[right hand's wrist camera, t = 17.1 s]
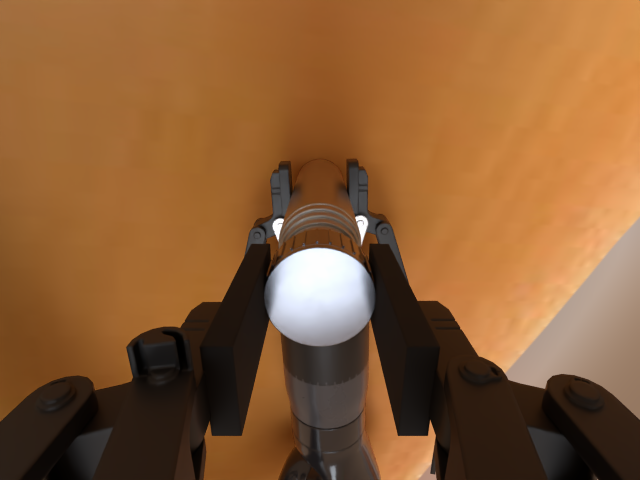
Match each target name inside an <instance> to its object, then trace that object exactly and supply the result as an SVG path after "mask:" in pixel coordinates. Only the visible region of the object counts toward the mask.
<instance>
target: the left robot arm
mask: <svg viewBox="0 0 640 480" xmlns="http://www.w3.org/2000/svg"><path fill="white" fill-rule="evenodd" d="M270 183H271V193H272V205H273V214H272V215H271V216H269V217H266V218H259V219H257V220H256V222H255V224H254V227H253V228H252V229H251V231H250V233H249V237H248V242H247V247H246V252H245V255H246V253H247V251H248V249H249V247H250V245H251V244H266V241H267V238H269V237H272V236H275V235H276V237H277V240H278V242H279V233H280V230H281V226H282V223H283V220H284V217H285V214H286V211H287V208H288V205H289V202H290V199H291V195H292V192H293V189H292V174H291V162H290V161H281V162H280V163H279V170H274V172H273V173H272V176H271V179H270ZM347 193H348V196H349V199H350V202H351V205H352V208H353V211H354V214H355V218H356V221H357V224H358V227H359V230H360V234H361V247H362V243H363V240H364V236H365V233H366V232H369V233H372V234H375V235H376V237H377V241H378V244H389V246H390V248H391V250H392V251H393V253H394V255H395V257H396V259H397V261H398V263H399V265H400V267H401V269H402V271H403V273H404V275H405V277H406V279H407V276H406V272H405V269H404V266H403V262H402V259H401V256H400V252H399V249H398V246H397V242H396V239H395V236H394V232H393V229H392V227H391V225H390V223H389V222H388V220H387V218H386V217H385V216H384V215H383V214H375V213H372V212H370V211H368V176H367V173H366V171H365V169H364V167H359V166H358V161H357V159H347ZM244 257H245V256H244ZM407 281H408V279H407ZM408 283H409V282H408ZM281 341H282V352H283V364H284V374H285V384H286V389H287V393H288V397H289V401H290V408H291V420H292V432H293V437H294V442H295V445H296V446H295V448H294V449H293V450H292V451H291V453H290V454H289V456H288V457H287V460H286V462H285V464H284V466H283V469H282V471H281V473H280V476H279V479H278V480H381V476H380V472H379V468H378V465H377V462H376V459H375V456H374V453H373V450H372V447H371V443H370V440H369V437H368V435H367V433H366V430H365V399H366V392H367V387H368V370H369V322H368V323H367V325H366V326H365V327H364V328H363V329H362V330H361V331H360V332H359V333H358V334H357V335H355V336H354V337H352V338H351V339H349V340H347V341H345V342H342V343H339V344H336V345H331V346H323V347H321V346H308V345H304V344H301V343H298V342H295V341H293V340H291V339H289V338H288V337H286V336H284V335H283V334H282V333H281Z"/></svg>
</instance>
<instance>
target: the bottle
mask: <svg viewBox="0 0 640 480" xmlns="http://www.w3.org/2000/svg"><path fill="white" fill-rule="evenodd" d="M316 229H325V230H329V229H331V231H335V232H338V233H343V235H345V236H347V237H348V238H350V239H351V238H352V239H353V241H354V242H355V243H356V244H357V245H358V246H359V247H360V246H361V234H360V230H359V227H358V224H357V221H356V218H355V214H354V211H353V208H352V205H351V202H350V199H349V196H348V193H347V190H346V186H345V183H344V180H343V177H342V174H341V172H340V170H339V168H338V167H337V166H336V165H335V164H334V163H332V162H330V161H328V160H324V159H316V160H312V161H310V162H308V163H306V164H305V165H304V166H303V167H302V168H301V170H300V172H299V174H298V177H297V180H296V183H295V186H294V189H293V192H292V195H291V199H290V202H289V205H288V208H287V211H286V214H285V217H284V220H283V223H282V226H281V230H280V233H279V243H278V249H279V248H280V247H281V246H282V244H283V242H284V241H285V242H286V241H287V240H288V239H290V238H291V237H292V236H293V235H297V234H299V233H302V232H304V231H305V230H306V231H309V230H316Z"/></svg>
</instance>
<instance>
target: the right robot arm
mask: <svg viewBox="0 0 640 480" xmlns="http://www.w3.org/2000/svg"><path fill="white" fill-rule="evenodd" d="M270 262H271V254H270V244H251V245H250V247H249V249H248V251H247V253H246V255H245V257H244V259H243V261H242V263H241V265H240V267H239V269H238V271H237V273H236V275H235V277H234V279H233V281H232V283H231V285H230V287H229V289H228V291H227V293H226V295H225V297H224V299H223V301H222V302H202V303H201V304H200V305H198V306H197V307H195V308H194V309H193V310H191V312H190V313H189V315H188V316H187V318H186V320H185V322H184V323H183V324H182V326H181V328H178V327H161V328H156V329H152V330H149V331H147V332H144V333H142V334H140V335H139V336H137V337H136V338H134V339H133V340H132V341H131V342H130V343H129V344H128V346H127V347H126V348H127V353H128V357H129V361H130V366H131V370H132V375H133V379H132V381H131V382H129V383H125V384H122V385H118V386H113V387H109V388H104V389H100V390H95V389H94V385H93V382H92V381H91V380H90V379H89V378H87V377H82V376H70V377H64V378H60V379H57V380H54V381H51V382H49V383H48V384H46V385H44V386H42V387H40V388H38V389H37V390H35V391H34V392H33V393H31V394H30V395H29V396H27V397H26V398H25V399H24V400H23V401H22V402H21V403H20V404H19V405H18V406H17V407H16V408H15V409H14V410H12V411H11V412H10V413H9V414H8V415H7V416H6V417H5V418H4V419H3V420H2V421H1V422H0V480H203V478H204V469H205V459H206V446H205V439H204V435H205V433H206V430H207V427H208V424H209V421H210V425H211V432H212V436H242V432H243V428H244V424H245V420H246V415H247V411H248V407H249V403H250V398H251V394H252V390H253V386H254V382H255V377H256V373H257V369H258V365H259V361H260V356H261V352H262V348H263V344H264V340H265V335H266V331H267V327H268V323H269V317H268V315H267V313H266V310H265V302H264V287H265V283H266V280H267V277H266V274H267V271H268V268H269V265H270ZM369 264H370V267H371V270H372V276H373V279H374V284H375V288H376V298H375V309H374V312H373V315H372V317H371V324H372V328H373V332H374V336H375V340H376V345H377V349H378V353H379V357H380V362H381V366H382V370H383V374H384V378H385V383H386V387H387V391H388V395H389V399H390V404H391V408H392V412H393V416H394V421H395V425H396V429H397V433H398V436H428V431H429V424H430V420H431V423H432V426H433V429H434V431H435V434H436V439H435V445H434V452H433V459H432V465H431V474H435V472H436V478H437V480H597V479H598V480H640V420H639V419H638V418H637V417H636V416H635V415H634V414H633V413H632V412H631V411H630V410H629V409H627V408H626V407H625V406H624V405H623V404H622V403H621V402H620V401H619V400H618V399H617V398H616V397H615V396H614V395H612V394H611V393H610V392H608V391H607V390H606V389H604V388H603V387H602V386H600V385H598V384H596V383H594V382H592V381H590V380H588V379H585V378H581V377H578V376H575V375H566V374H560V375H555V376H552V377H551V378H550V379H549V380H548V381H547V384H546V388H545V389H543V388H538V387H534V386H529V385H524V384H520V383H517V382H513V381H510V380H508V378H507V376H506V375H505V373H504V372H503V370H502V369H501V368H499V367H498V366H497V365H496V364H494V363H493V362H491V361H489V360H487V359H485V358H482V357H479V356H478V355H477V353H476V352H475V350H474V348H473V347H472V345H471V344H470V342H469V341H468V339H467V337H466V336H465V334H464V333H463V331H462V330H460V326H459V325H458V323H457V322H456V321H455V319H454V317H453V315H452V314H451V312H450V311H449V309H447V308H446V307H445V306H443V305H442V304H440V303H439V302H438V301H417V299H416V297H415V295H414V293H413V291H412V289H411V287H410V285H409V283H408V281H407V279H406V277H405V275H404V273H403V271H402V269H401V267H400V265H399V263H398V261H397V259H396V257H395V255H394V253H393V251H392V250H391V248H390V246H389V244H370V249H369Z"/></svg>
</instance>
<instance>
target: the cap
mask: <svg viewBox="0 0 640 480" xmlns="http://www.w3.org/2000/svg"><path fill="white" fill-rule="evenodd" d="M266 277H267V280H266V283H265V287H264V302H265V310H266V313H267V315H268V317H269V319H270V321H271V322H272V324H273V325H274V326H275V327H276V328H277V330H278V331H280V332H281V333H282V334H283V335H284V336H286V337H288V338H289V339H291V340H293V341H295V342H298V343H301V344H304V345H308V346H321V347H323V346H331V345H336V344H339V343H342V342H345V341H347V340H349V339H351V338H352V337H354V336H355V335H357V334H358V333H359V332H360V331H361V330H362V329H363V328H364V327H365V326H366V325H367V323H368V322H369V320H370V319H371V317H372V315H373V312H374V309H375V298H376V288H375V284H374V279H373V276H372V270H371V267H370V264H369V260H368V257H367V256H365V255H364V253H363V251H362V248H361V246H360V247H359V246H358V245H357V244H356V243H355V242H354V241H353V239H352V238H351V239H350V238H348V237H347V236H345V235H343V233H338V232H335V231H331V229H329V230H325V229H316V230H309V231H306V230H305V231H304V232H302V233H299V234H297V235H293V236H292V237H291V238H290V239H288V240H287V241H286V242H285V241H284V242H283V244H282V246H281V247H280V248H279V249H278V251H277V250H276V251H275V255H274V258H273V260H271V262H270V265H269V268H268V271H267V274H266Z"/></svg>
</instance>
